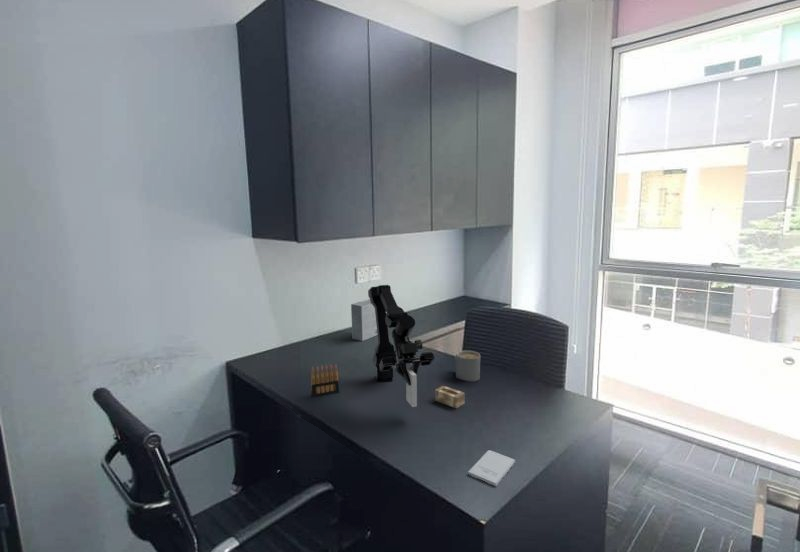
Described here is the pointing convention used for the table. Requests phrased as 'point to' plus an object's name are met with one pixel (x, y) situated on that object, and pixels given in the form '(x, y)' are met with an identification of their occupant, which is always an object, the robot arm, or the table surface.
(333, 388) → the ammunition clip
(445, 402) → the oak box
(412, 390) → the cover plate
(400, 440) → the table surface
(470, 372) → the coffee mug
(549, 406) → the table surface
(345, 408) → the table surface
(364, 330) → the hard drive box
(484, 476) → the external hard drive
